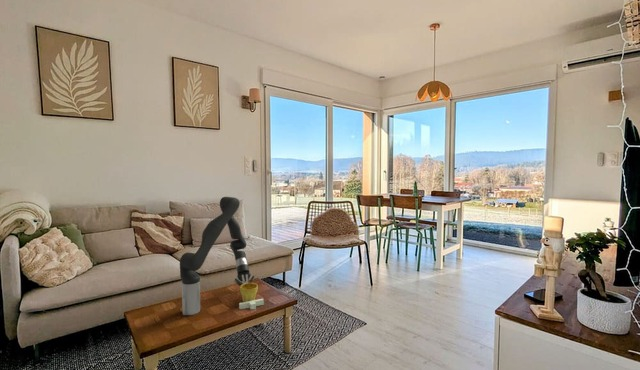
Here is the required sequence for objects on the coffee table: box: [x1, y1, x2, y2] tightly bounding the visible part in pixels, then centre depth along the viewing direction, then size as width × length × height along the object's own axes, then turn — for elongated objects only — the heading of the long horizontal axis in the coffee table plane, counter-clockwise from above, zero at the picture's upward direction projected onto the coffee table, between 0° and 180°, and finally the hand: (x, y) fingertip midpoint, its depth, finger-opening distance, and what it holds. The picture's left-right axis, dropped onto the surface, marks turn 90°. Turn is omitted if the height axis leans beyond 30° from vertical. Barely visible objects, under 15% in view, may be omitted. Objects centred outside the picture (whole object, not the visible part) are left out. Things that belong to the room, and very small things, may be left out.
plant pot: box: [239, 282, 259, 302], centre depth 186 cm, size 10×10×10 cm
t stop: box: [238, 298, 265, 310], centre depth 179 cm, size 14×5×3 cm, turn 117°
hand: (246, 291), depth 190 cm, fingers closed
